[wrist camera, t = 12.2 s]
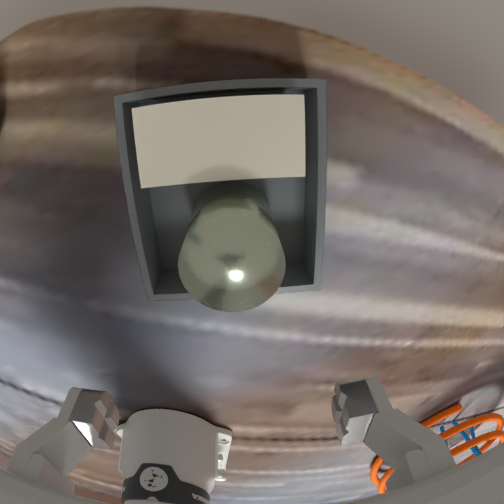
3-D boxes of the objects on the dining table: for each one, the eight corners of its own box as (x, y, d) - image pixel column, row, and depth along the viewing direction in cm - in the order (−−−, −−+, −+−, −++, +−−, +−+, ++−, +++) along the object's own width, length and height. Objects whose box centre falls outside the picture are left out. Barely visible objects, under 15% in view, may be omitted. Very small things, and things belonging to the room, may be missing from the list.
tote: (307, 261, 29) (320, 290, 25) (159, 270, 29) (148, 301, 24) (308, 84, 22) (325, 79, 18) (135, 97, 22) (113, 96, 17)
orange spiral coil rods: (359, 484, 63) (370, 555, 41) (377, 416, 49) (405, 524, 28) (467, 451, 59) (490, 511, 37) (513, 371, 46) (559, 446, 24)
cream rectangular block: (287, 158, 24) (305, 176, 18) (162, 167, 24) (141, 188, 18) (285, 97, 22) (304, 94, 16) (157, 107, 22) (131, 108, 16)
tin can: (268, 251, 28) (281, 310, 20) (195, 251, 27) (183, 311, 20) (271, 180, 25) (289, 218, 17) (192, 180, 24) (173, 218, 17)
